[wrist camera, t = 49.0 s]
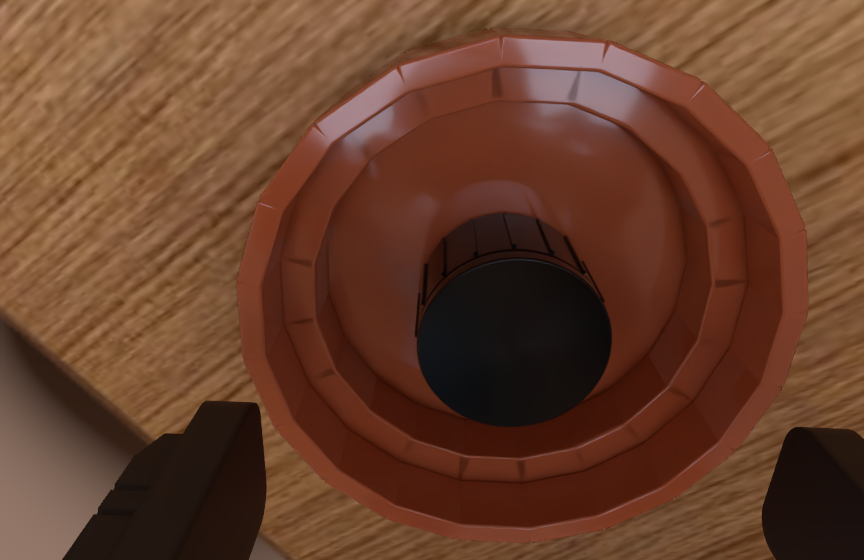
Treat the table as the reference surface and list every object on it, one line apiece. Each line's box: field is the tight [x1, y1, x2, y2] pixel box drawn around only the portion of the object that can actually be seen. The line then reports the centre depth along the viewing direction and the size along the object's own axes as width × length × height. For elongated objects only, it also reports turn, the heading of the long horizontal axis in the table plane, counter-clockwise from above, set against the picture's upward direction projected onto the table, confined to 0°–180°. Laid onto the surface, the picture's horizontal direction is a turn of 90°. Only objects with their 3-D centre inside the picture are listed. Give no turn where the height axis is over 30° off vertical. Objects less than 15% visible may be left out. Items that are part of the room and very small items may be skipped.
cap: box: [415, 212, 612, 427], centre depth 14 cm, size 4×4×3 cm
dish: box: [236, 28, 808, 543], centre depth 14 cm, size 11×11×4 cm
